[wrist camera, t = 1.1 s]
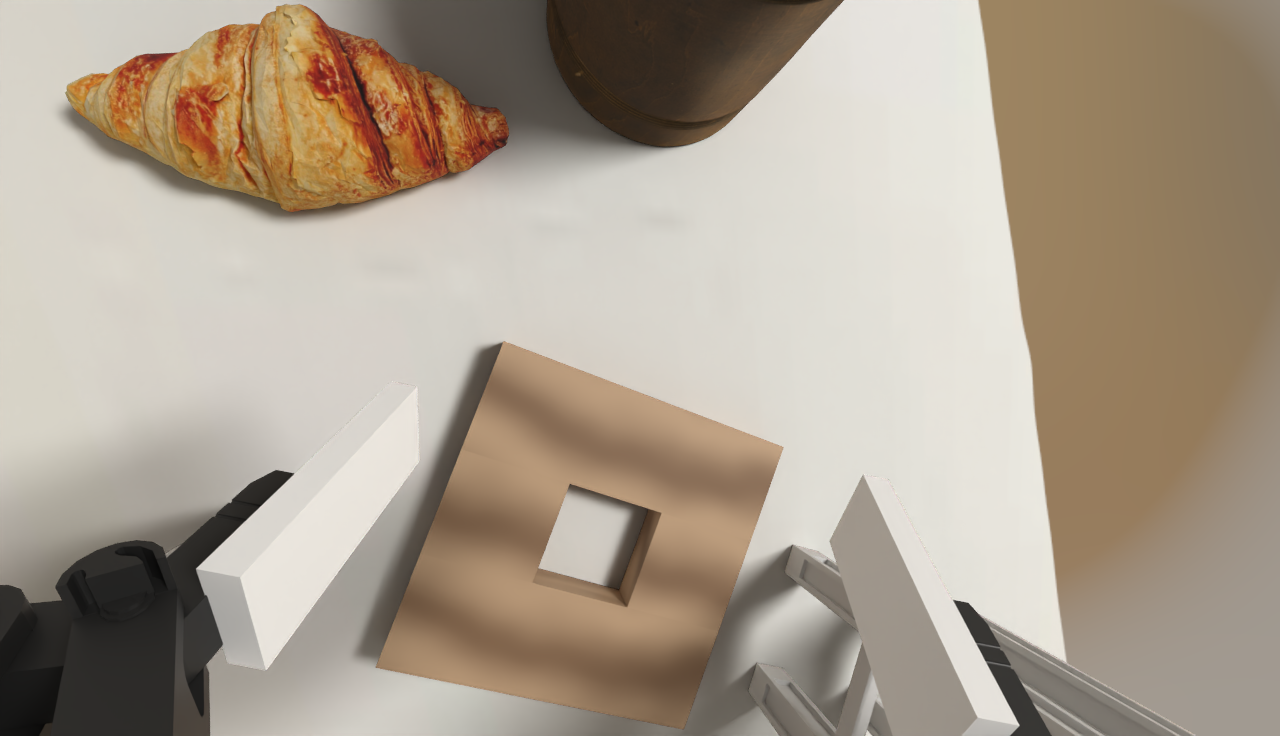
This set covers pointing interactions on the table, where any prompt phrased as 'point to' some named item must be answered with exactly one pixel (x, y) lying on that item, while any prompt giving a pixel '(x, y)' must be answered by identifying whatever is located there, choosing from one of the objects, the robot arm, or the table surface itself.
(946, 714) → the robot arm
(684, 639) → the keeper block
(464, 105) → the croissant
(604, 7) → the wooden container
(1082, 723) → the stool
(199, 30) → the table surface
